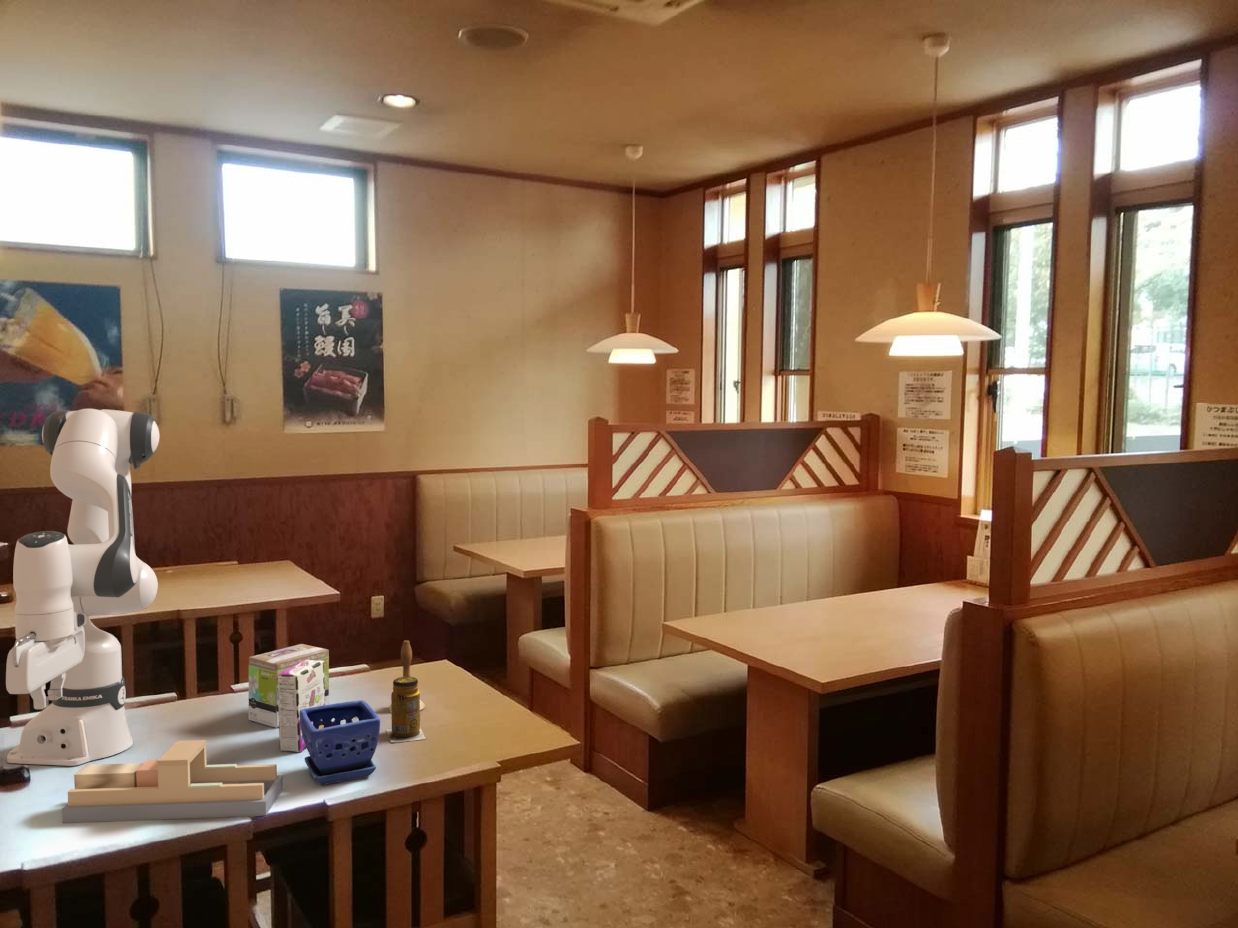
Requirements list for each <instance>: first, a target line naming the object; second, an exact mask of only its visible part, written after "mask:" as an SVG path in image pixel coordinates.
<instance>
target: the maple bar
mask: <svg viewBox="0 0 1238 928" xmlns="http://www.w3.org/2000/svg"><path fill="white" fill-rule="evenodd" d="M144 763H145V762H136V763H134V762H133V763H107V764H105V763H101V764H86V765H84V766H83V767H81V769H79V770H78V771H77V772H75V774H73V777H74V778H73V779H74V789H100V788H129V787H137V779H136V770H137V769H138V768H139V767H140V766H142V765H143V764H144Z"/></svg>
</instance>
